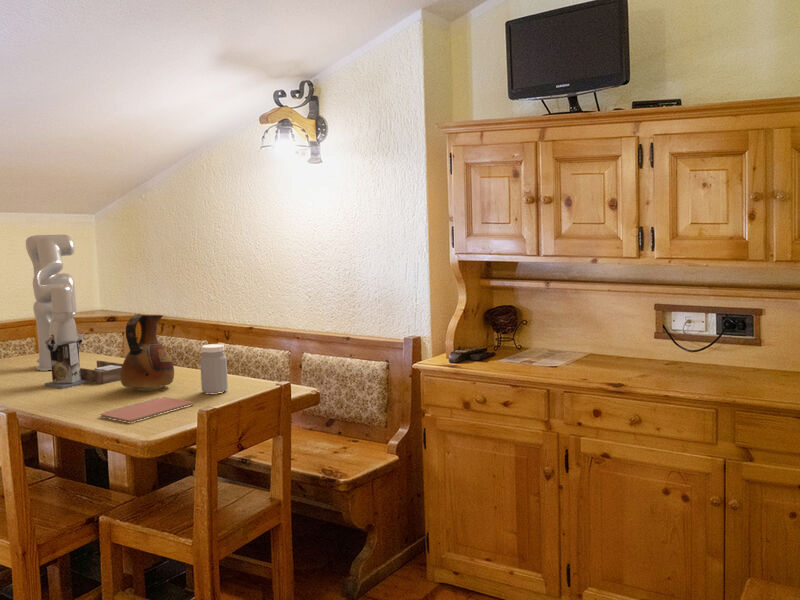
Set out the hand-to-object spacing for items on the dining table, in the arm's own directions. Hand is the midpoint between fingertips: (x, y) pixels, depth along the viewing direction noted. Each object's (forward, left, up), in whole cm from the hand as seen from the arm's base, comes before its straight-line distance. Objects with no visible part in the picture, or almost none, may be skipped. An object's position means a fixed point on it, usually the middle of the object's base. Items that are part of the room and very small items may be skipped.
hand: (65, 358), depth 304 cm
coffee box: (0, 0, -10) cm, 10 cm away
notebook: (+64, -13, -11) cm, 66 cm away
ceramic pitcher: (+37, +10, -11) cm, 40 cm away
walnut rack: (+1, +15, -11) cm, 18 cm away
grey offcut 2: (+10, +15, -11) cm, 21 cm away
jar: (+64, +19, -11) cm, 68 cm away
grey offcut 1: (+5, +15, -11) cm, 19 cm away
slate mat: (0, 0, -11) cm, 11 cm away
